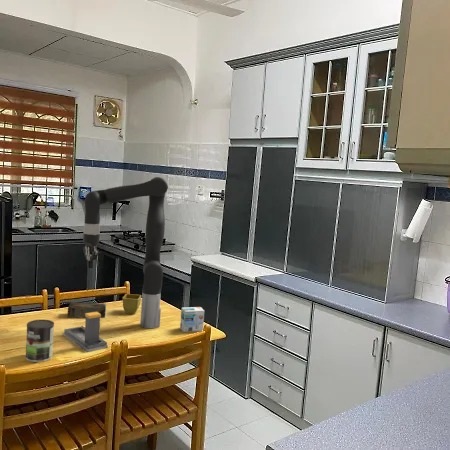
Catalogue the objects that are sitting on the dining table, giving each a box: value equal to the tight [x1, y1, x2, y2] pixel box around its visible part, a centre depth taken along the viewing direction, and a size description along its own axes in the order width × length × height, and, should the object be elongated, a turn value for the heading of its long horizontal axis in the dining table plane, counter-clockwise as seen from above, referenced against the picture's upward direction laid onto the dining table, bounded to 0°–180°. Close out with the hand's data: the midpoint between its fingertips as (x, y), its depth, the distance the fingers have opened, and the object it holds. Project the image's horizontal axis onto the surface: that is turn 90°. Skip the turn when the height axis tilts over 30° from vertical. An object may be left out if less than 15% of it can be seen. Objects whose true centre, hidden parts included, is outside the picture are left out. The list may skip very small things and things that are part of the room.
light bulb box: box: [179, 306, 205, 333], centre depth 232 cm, size 11×7×11 cm, turn 112°
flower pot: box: [122, 293, 142, 315], centre depth 252 cm, size 9×9×9 cm
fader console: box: [62, 325, 109, 353], centre depth 206 cm, size 24×10×2 cm, turn 42°
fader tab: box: [84, 312, 101, 344], centre depth 200 cm, size 4×5×13 cm
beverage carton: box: [67, 302, 107, 319], centre depth 241 cm, size 8×19×7 cm, turn 103°
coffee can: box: [25, 319, 55, 363], centre depth 185 cm, size 10×10×14 cm
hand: (89, 267), depth 223 cm, fingers closed
